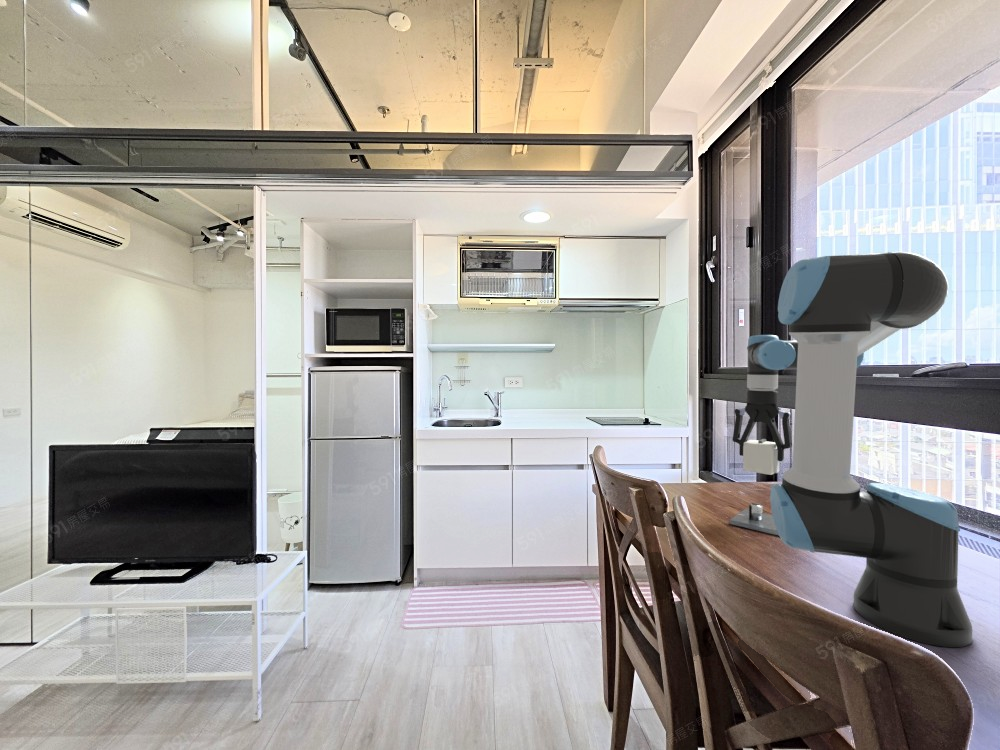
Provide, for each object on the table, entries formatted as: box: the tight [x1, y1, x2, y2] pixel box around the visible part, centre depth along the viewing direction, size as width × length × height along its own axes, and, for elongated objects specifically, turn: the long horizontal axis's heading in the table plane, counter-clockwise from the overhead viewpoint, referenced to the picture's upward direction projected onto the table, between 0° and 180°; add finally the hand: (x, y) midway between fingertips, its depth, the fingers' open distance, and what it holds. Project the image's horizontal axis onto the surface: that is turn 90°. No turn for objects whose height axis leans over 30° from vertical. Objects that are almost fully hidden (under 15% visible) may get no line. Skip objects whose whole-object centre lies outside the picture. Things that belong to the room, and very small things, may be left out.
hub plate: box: [729, 502, 780, 537], centre depth 123 cm, size 14×14×5 cm
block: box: [742, 438, 777, 476], centre depth 122 cm, size 8×7×9 cm
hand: (760, 469), depth 122 cm, fingers closed on block, 7 cm apart
